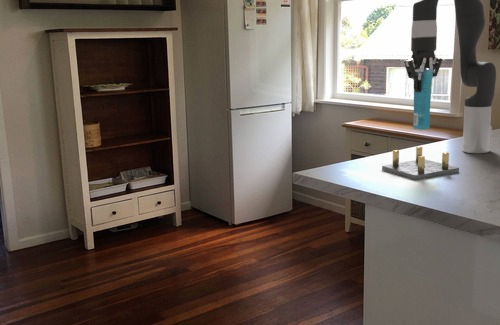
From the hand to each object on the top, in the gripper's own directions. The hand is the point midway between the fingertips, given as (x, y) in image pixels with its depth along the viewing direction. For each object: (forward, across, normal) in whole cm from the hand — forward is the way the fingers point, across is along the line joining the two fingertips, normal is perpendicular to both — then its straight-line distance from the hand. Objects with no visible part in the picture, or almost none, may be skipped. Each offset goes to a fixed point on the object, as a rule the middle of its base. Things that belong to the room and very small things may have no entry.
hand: (422, 91), depth 171 cm
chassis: (+26, 0, 0) cm, 26 cm away
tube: (+12, 0, 0) cm, 12 cm away
